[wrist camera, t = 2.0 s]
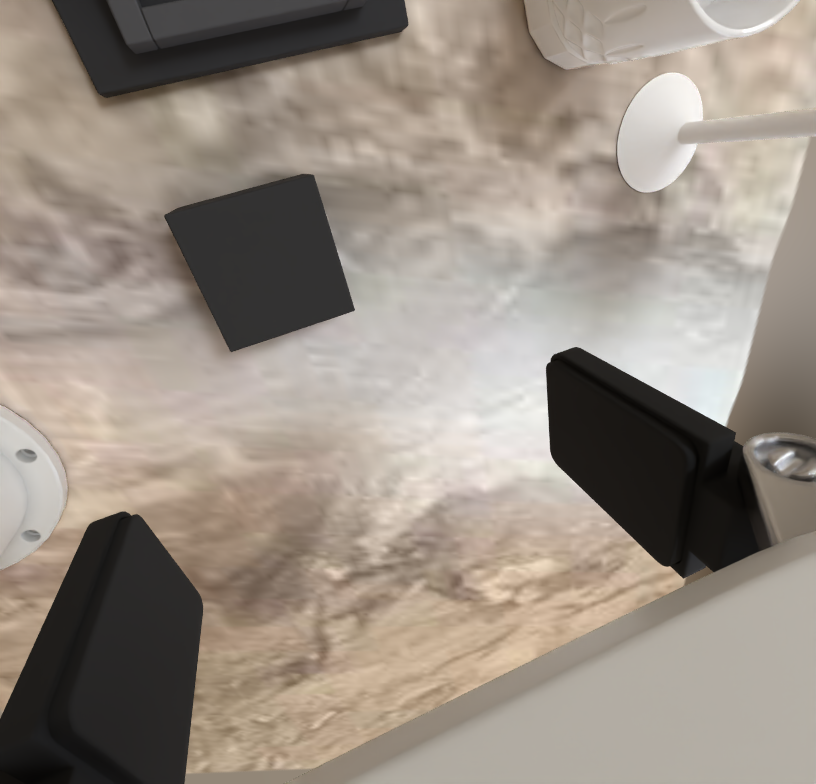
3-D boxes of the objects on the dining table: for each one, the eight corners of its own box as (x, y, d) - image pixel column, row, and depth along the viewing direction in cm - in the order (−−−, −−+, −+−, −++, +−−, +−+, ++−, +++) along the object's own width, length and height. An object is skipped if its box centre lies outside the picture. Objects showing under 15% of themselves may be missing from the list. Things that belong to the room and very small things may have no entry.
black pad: (232, 327, 25) (230, 352, 21) (176, 208, 21) (163, 215, 18) (340, 292, 26) (355, 310, 22) (303, 173, 22) (313, 174, 19)
